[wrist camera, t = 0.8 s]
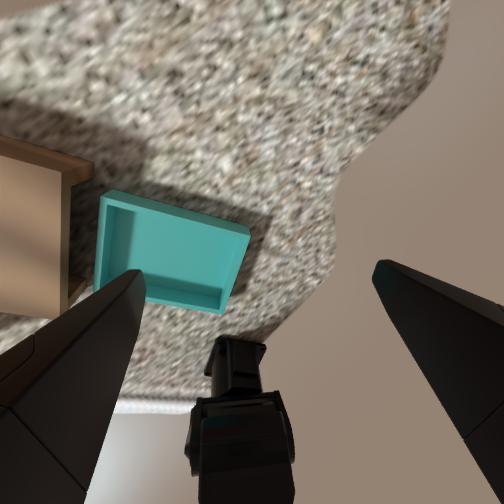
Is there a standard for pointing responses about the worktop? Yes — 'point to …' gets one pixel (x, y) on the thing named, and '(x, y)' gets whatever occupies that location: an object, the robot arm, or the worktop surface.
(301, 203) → the worktop surface
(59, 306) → the wooden drawer box
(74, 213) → the worktop surface
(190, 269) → the tray
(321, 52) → the worktop surface
